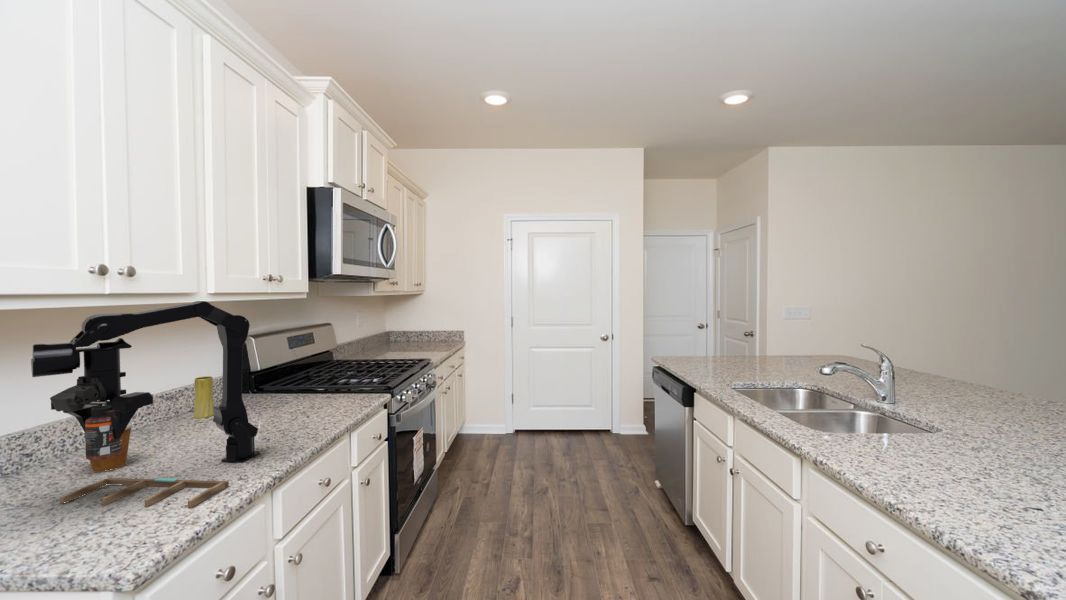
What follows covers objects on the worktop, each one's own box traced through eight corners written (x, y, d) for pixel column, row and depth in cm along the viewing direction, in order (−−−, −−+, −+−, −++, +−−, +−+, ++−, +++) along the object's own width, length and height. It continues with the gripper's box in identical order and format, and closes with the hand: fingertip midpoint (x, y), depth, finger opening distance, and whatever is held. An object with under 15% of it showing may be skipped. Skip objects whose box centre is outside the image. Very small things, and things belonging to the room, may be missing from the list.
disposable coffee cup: (136, 466, 110) (135, 421, 110) (83, 478, 103) (82, 430, 103) (132, 457, 116) (131, 414, 116) (82, 468, 109) (81, 422, 109)
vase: (189, 417, 153) (188, 378, 153) (206, 412, 159) (206, 375, 159) (201, 418, 152) (201, 379, 151) (218, 414, 158) (218, 376, 157)
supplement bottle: (114, 459, 93) (113, 408, 93) (78, 463, 91) (77, 411, 91) (128, 449, 98) (127, 401, 98) (95, 453, 96) (94, 404, 96)
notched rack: (109, 482, 101) (109, 476, 101) (228, 486, 99) (228, 479, 99) (60, 504, 91) (59, 497, 91) (191, 508, 89) (191, 501, 89)
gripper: (18, 376, 87) (20, 451, 87) (101, 377, 86) (103, 453, 86) (79, 367, 98) (81, 433, 98) (154, 367, 97) (156, 434, 97)
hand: (104, 438), depth 95 cm, fingers closed on supplement bottle, 6 cm apart
